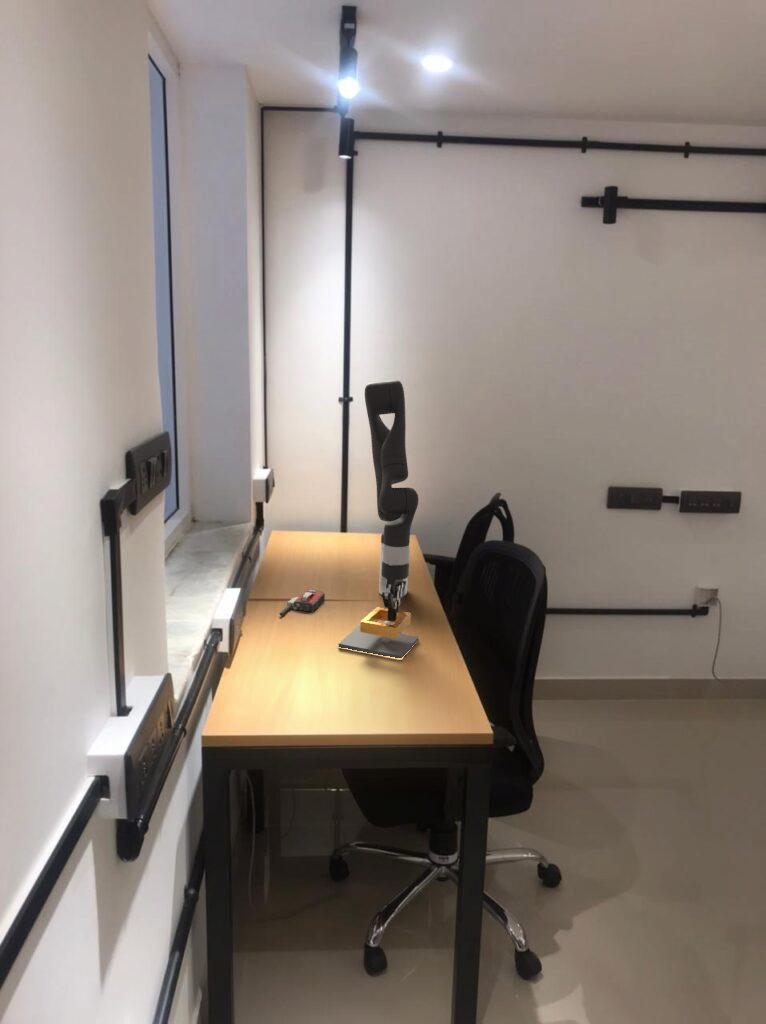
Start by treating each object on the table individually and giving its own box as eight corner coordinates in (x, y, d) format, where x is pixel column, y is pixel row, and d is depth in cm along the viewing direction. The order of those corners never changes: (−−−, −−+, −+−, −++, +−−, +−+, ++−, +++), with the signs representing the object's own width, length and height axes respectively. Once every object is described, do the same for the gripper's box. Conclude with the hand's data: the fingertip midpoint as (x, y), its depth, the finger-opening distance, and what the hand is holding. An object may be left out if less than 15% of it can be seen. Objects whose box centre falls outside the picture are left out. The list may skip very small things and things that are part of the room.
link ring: (376, 617, 215) (377, 607, 214) (410, 623, 212) (410, 613, 211) (360, 632, 204) (360, 621, 203) (395, 638, 201) (396, 628, 200)
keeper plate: (358, 630, 219) (359, 606, 218) (418, 641, 213) (419, 617, 212) (338, 648, 207) (339, 623, 205) (401, 661, 200) (402, 635, 199)
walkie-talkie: (300, 596, 246) (277, 618, 227) (301, 583, 245) (277, 604, 226) (326, 599, 244) (305, 622, 225) (327, 586, 243) (305, 608, 224)
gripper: (391, 551, 216) (388, 609, 220) (373, 564, 204) (371, 625, 208) (416, 555, 213) (413, 613, 218) (400, 568, 201) (397, 630, 205)
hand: (392, 619), depth 213 cm, fingers closed on link ring, 1 cm apart
